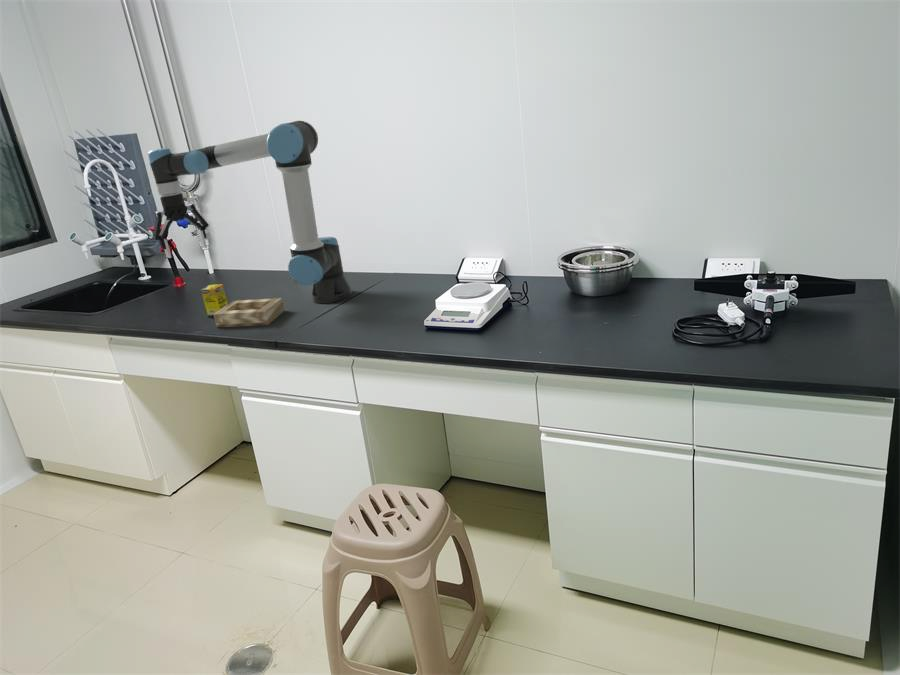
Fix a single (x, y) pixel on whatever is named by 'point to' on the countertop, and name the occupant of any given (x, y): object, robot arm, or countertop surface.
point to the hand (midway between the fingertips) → (187, 252)
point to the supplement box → (214, 298)
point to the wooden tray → (249, 312)
